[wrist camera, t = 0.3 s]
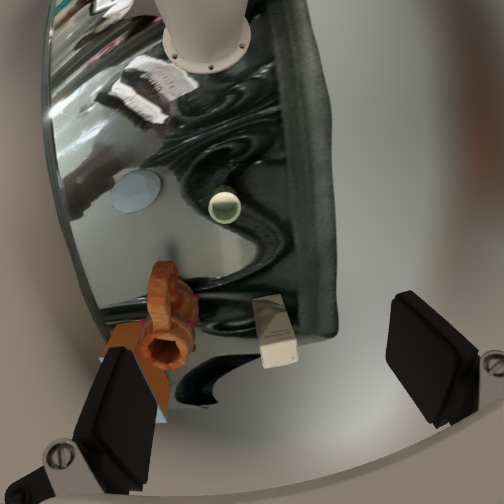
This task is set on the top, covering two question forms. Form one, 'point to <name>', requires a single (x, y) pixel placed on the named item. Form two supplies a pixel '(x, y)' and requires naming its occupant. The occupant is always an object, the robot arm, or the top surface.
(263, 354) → the box
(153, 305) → the mug
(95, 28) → the top surface
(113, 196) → the gemstone
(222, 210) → the cup
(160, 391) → the container
